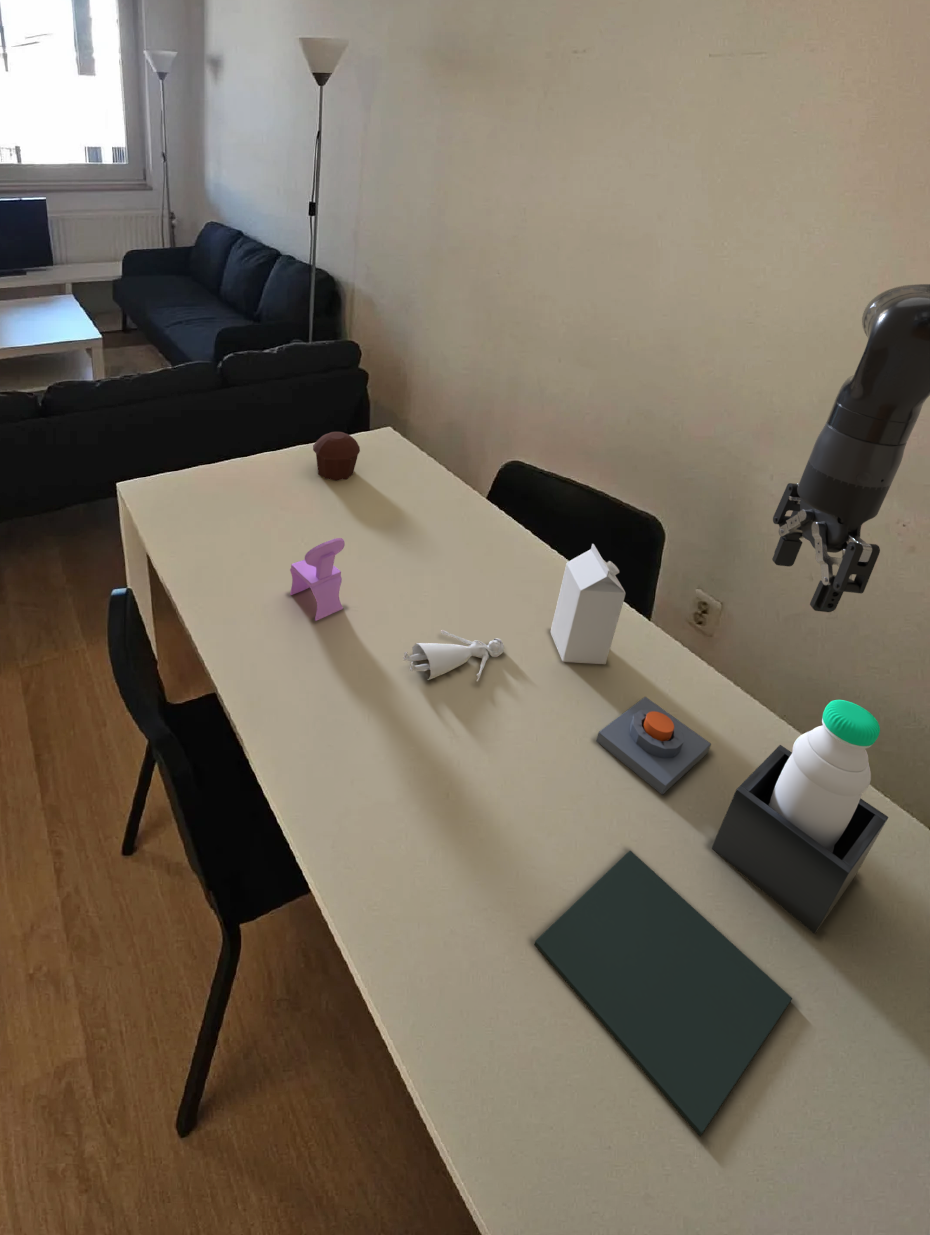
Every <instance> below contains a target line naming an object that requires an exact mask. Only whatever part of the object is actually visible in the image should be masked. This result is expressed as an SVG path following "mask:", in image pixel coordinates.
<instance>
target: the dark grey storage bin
mask: <svg viewBox="0 0 930 1235" xmlns="http://www.w3.org/2000/svg"><path fill="white" fill-rule="evenodd" d="M792 753H793V752H792V751H791V750H789V749H787V748H786V747H785V746H783V745H781V744H779V745H778V746H777V747H776V748H775V749H774V750H773V751H772V752H771V753H770V754H769V755H768V756H767V757H766V759H764V760H763V761H762V762H761V763H760V764H759V766H758V767H756V768H755V770H754V771H753V772H752V773H751V774H750V775H748V777H747V778H746V779H745V780H743V782H742V783H741V784H740V785H739V786H738V787H737V788H736V790H735V791H734V794H733V797H732V799H731V801H730V804H729V806H728V808H727V810H726V813H725V815H724V818H723V820H722V822H721V825H720V827H719V828H718V831H717V834H716V836H715V838H714V841H713V843H712V846H711V849H712V850H713V851H714V852H715V853H717V854H718V855H719V856H720V857H721V858H722V859H723V860H725V862H727V863H729V864H730V865H731V866H732V867H733V868H735V869H736V870H737V871H738V872H739V873H741V874H742V875H743V876H744V877H745V878H746V879H748V880H749V881H750V882H751V883H753V884H754V885H755V886H756V887H757V888H759V889H760V890H761V891H762V892H763V893H765V894H766V895H767V896H768V897H770V898H771V899H772V900H773V901H774V902H776V903H777V904H778V905H779V906H780V907H781V908H783V909H784V910H785V911H787V913H789V914H790V915H791V916H793V918H795V919H796V920H797V921H799V923H801V924H802V925H803V926H805V928H807V929H808V930H809V931H810V932H812V933H813V934H816V933H817V932H818V931H819V929H820V927H821V926H822V925H823V923H824V922H825V920H826V919H827V917H828V916H829V914H830V913H832V910H833V909H834V907H835V906H836V905H837V903H838V902H839V900H840V899H841V897H842V896H843V895H844V893H845V891H846V890H847V889H848V887H849V886H850V884H851V883H852V881H854V879H855V877H856V875H857V874H858V872H859V870H860V868H861V867H862V865H863V863H864V862H865V859H866V858H867V856H868V854H869V852H870V851H871V849H872V848H873V845H874V844H875V842H876V840H877V838H878V837H879V835H880V834H881V833H882V832H881V831H882V830H883V828H884V826H885V825H886V822H887V821H888V819H889V816H888V815H887V814H885V813H883V812H882V811H880V810H879V809H877V808H876V807H875V806H873V805H872V804H870V803H869V802H867V801H865V800H864V799H862V797H861V798H860V801H859V803H858V805H857V808H856V810H855V812H854V814H853V816H852V818H851V820H850V822H849V824H848V825H847V827H846V829H845V831H844V832H843V834H842V835H841V837H840V838H839V840H838V841H837V842H836V844H835V845H834V850H833V853H831V852H830V851H829V850H827V849H826V848H825V847H823V846H822V845H821V844H819V843H818V842H817V841H815V840H814V839H812V838H811V837H810V836H808V835H807V834H806V833H804V832H803V831H802V830H800V829H799V828H798V827H796V826H795V825H794V824H792V823H791V822H789V821H788V820H787V819H785V818H784V817H783V816H781V815H780V814H779V813H777V812H776V811H775V810H773V809H772V808H771V807H769V806H768V804H769V803H770V799H771V796H772V793H773V790H774V788H775V785H776V783H777V781H778V778H779V776H780V774H781V772H782V770H783V768H784V766H785V764H786V762H787V760H788V759H789V757H790V756H791V754H792Z"/></svg>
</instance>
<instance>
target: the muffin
mask: <svg viewBox="0 0 930 1235" xmlns="http://www.w3.org/2000/svg"><path fill="white" fill-rule="evenodd" d="M312 451H313V452H314V453H315V456H316V465H317V466H316V467H317V474H318V475H319V476H321V477H323V478H324V479H325V480H331V481H335V482H338V481H344V480H348V479H349V478H350V477H352V476H353V475H354V471H355V469H356V463H357V460H358V457H359V455H360V452H361V448H360V445H359V443H358V441H357V440H356V439H355V438H354V437H353V436H352V435H350V434H349V433H345V432H343V431H331V432H329V433H325V434H323V435H322V436H320V437H319V438H318V439H317V440H316V441H315V442H314V444H313V446H312Z"/></svg>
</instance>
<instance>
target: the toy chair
mask: <svg viewBox="0 0 930 1235" xmlns="http://www.w3.org/2000/svg"><path fill="white" fill-rule="evenodd" d="M345 546H346V544H345V540H344V538H342V537H336V538H335V537H334V538H333V539H329V540H327V541H324V542H321V543H319V544H318V545H315V546H314V547H312V548H311V549H309V551H307V552H306V553H305V555H304V559H302V560H299V561H296V562H293V563H291V564H290V569H289V571H290V574H291V586H290V588H291V589H290V592H289V595H290V596H293V595H296V594H298V593H300V592H303V591H305V590H308V589H310V590H311V593H312V594H313V597H314V598H315V601H316V612H315V617H314V621H315V622H317V621H319V620H321V619H323V618H326V617H328V616H330V615H333V614H334V613H337V612H339V611H341V610H343V609H344V607H343V604H342V603H341V600H340V590H341V585H342V581H343V580H342V579H343V577H342V571H341V570H340V569H339V568H338V567H337V566H335V565H334V563H335V558H336V556H337V555H338V554H339V553H341V552H342V551H343V550H344V548H345Z"/></svg>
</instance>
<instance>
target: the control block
mask: <svg viewBox="0 0 930 1235" xmlns="http://www.w3.org/2000/svg"><path fill="white" fill-rule="evenodd" d="M653 711H655V712H660V713H662V714H664V715H666V716H667V717H669V718H670V719H671V720H672V722H673V724H674V730H673V733H672V736H671V738H670V739H669V740H668V741H660V740H657V739H654V738H652V737H651V736H650V735H648V734H647V733H646V731H645V730H644V727H643V724H644V721H645V718H646V715H647V714H648V713H649V712H653ZM595 742H596V743H598V744H599V745H600V746H601V747H603V748H604V749H605V750H606V751H607V752H608V753H610V754H611V755H613V757H615V758H616V759H617V760H618V761H620V762H621V763H622V764H624V765H625V766H626V767H627V768H628V769H630V770H631V771H632V772H633V773H635V774H636V775H637V776H638V777H640V778H641V779H642V780H643V781H645V782H646V783H647V784H648V785H649V786H651V787H652V788H653V789H654V790H655V791H657V792H658V793H659V795H662V796H663V795H664V794H665V793H666V792H667V791H668V790H670V789H671V788H672V787H673V786H674V785H675V784H676V783H677V782H678V781H679V780H680V779H681V778H682V777H684V776H685V775H686V774H687V773H688V772H689V771H690V770H691V769H692V768H693V767H694V766H696V765H697V764H698V763H699V762H700V761H701V760H702V759H704V757H706V755H707V754H708V753H709V751H710V748H711V746H712V743H711V742H710V741H708V740H707V739H706V738H704V737H702V736H701V735H700V734H699V733H697V732H696V731H695V730H692V729H691V728H690V727H689V726H687V725H686V724H685V723H683V722H682V721H681V720H679V719H677V717H675V716H673V715H672V714H670V712H668V711H666V709H664V708H662V707H661V706H659V705H658V704H657V703H655V702H654V701H653V700H651V699H650V698H648V697H647V696H644V697H642V698H641V699H640V700H639V701H637V702H636V703H634V704H633V705H632V706H631V707H629V708H628V709H627V710H626V711H624V712H622V713H621V714H620V715H619V716H617V717H616V718H615V719H613V721H611V722H610V723H609V724H607V725H606V726H604V727H603V728H602V729H600V730H599V731H598V733H597V737H596V740H595Z"/></svg>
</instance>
